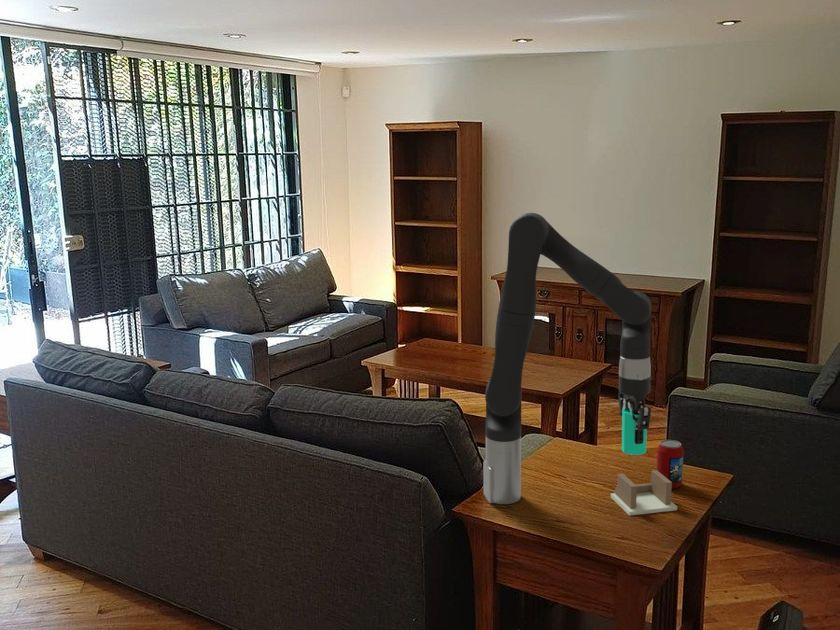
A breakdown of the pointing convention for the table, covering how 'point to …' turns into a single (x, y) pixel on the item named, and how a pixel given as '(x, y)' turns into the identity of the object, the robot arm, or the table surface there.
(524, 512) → the table surface
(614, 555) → the table surface
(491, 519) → the table surface
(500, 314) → the robot arm
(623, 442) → the candle
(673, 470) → the beverage can
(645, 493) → the holder
